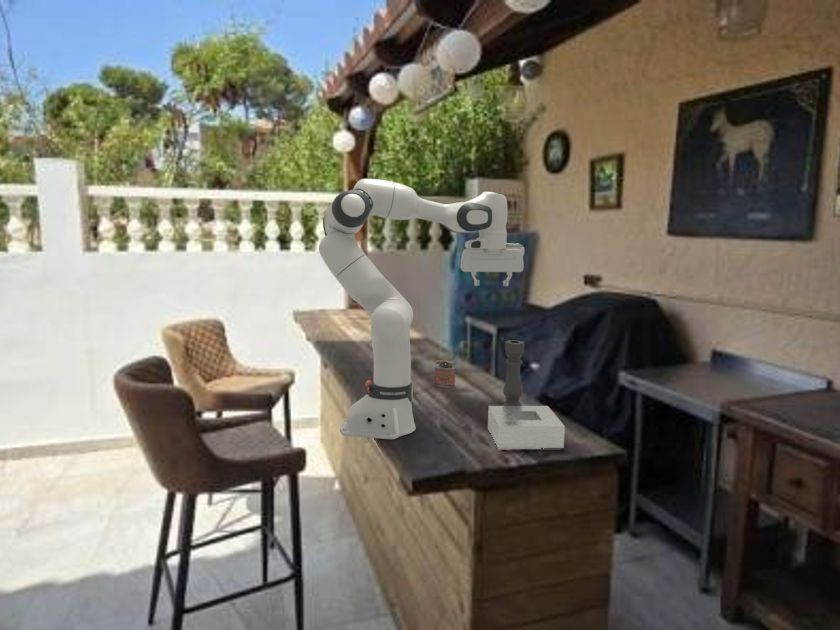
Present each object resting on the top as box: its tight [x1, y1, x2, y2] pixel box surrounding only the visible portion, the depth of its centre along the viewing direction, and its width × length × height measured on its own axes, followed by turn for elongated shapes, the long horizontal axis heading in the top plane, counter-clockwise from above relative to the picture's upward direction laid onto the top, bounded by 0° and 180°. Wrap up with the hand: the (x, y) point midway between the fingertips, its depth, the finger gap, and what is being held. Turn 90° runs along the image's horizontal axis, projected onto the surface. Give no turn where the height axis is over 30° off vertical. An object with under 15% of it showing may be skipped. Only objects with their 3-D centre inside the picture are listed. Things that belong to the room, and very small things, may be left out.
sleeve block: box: [487, 405, 566, 450], centre depth 172 cm, size 18×18×7 cm
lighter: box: [433, 359, 456, 389], centre depth 225 cm, size 8×3×10 cm, turn 74°
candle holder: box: [502, 339, 525, 406], centre depth 187 cm, size 6×6×25 cm
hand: (491, 285), depth 194 cm, fingers open, 8 cm apart
